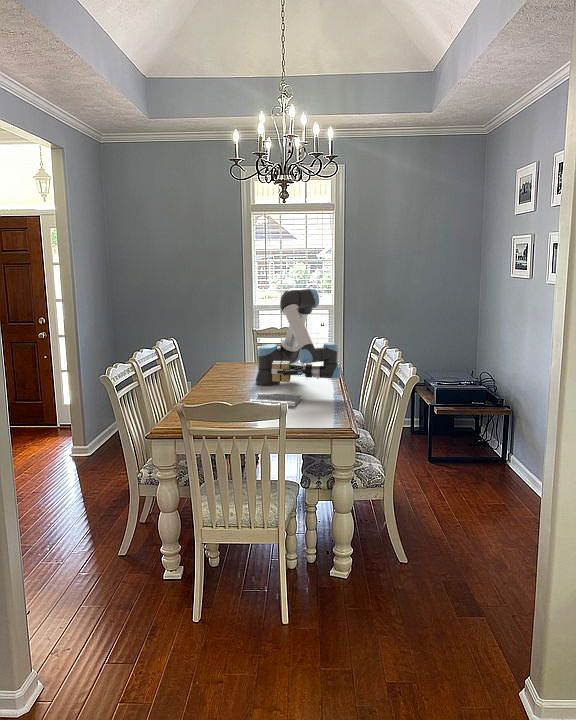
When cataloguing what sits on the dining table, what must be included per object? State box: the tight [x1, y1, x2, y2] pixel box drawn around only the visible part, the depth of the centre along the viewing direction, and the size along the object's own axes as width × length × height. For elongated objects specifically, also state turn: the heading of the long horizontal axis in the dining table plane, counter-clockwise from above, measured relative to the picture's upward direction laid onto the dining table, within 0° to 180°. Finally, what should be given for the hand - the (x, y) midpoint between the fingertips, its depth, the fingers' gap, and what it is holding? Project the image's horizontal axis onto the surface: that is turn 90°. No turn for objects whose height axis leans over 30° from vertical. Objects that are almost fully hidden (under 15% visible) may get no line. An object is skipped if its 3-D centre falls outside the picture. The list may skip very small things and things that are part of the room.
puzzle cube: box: [272, 361, 292, 383], centre depth 332 cm, size 10×10×10 cm
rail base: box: [249, 392, 302, 409], centre depth 315 cm, size 24×17×3 cm
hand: (274, 369), depth 333 cm, fingers closed on puzzle cube, 11 cm apart
